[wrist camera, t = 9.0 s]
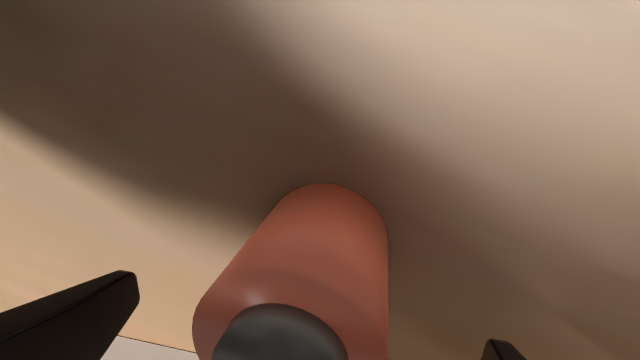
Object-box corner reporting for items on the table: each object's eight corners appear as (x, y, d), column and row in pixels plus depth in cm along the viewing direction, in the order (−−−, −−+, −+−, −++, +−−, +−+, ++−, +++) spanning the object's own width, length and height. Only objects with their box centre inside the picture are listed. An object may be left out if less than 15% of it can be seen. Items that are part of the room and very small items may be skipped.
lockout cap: (267, 176, 11) (164, 271, 6) (395, 191, 10) (403, 314, 5) (268, 280, 13) (186, 428, 7) (380, 299, 12) (374, 478, 7)
